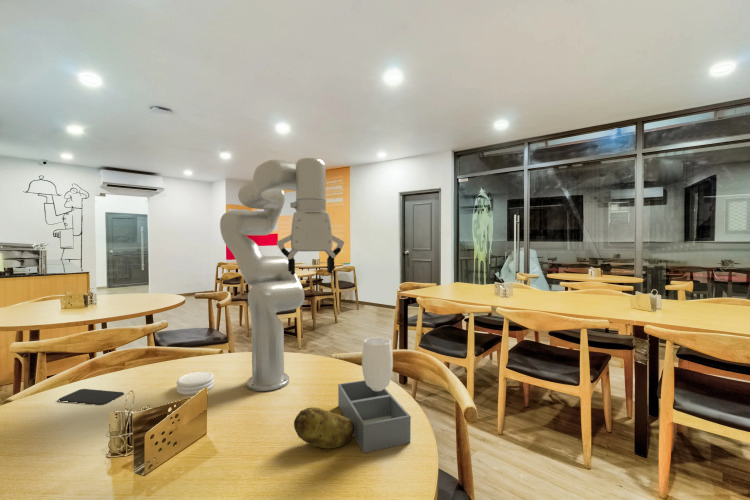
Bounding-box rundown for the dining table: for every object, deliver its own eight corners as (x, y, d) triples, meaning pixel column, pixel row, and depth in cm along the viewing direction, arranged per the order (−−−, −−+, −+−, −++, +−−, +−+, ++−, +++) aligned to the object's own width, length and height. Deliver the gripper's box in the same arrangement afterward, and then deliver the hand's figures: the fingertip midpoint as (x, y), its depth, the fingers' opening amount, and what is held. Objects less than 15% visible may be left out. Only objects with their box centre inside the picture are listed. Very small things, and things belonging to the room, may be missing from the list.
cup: (374, 417, 87) (374, 334, 86) (399, 427, 82) (399, 339, 82) (355, 430, 81) (355, 341, 80) (381, 441, 77) (381, 347, 76)
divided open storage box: (338, 405, 95) (338, 384, 95) (376, 399, 99) (376, 378, 99) (363, 452, 75) (363, 425, 74) (410, 442, 78) (410, 416, 78)
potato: (351, 457, 73) (351, 419, 73) (290, 454, 74) (290, 417, 74) (355, 434, 81) (355, 400, 81) (301, 432, 82) (300, 399, 82)
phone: (102, 404, 95) (55, 399, 98) (103, 407, 96) (55, 402, 98) (126, 392, 103) (81, 388, 105) (126, 395, 103) (81, 391, 105)
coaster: (215, 380, 113) (215, 369, 113) (211, 393, 104) (211, 381, 103) (180, 384, 110) (180, 373, 110) (173, 398, 100) (173, 386, 100)
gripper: (277, 205, 84) (278, 276, 85) (347, 207, 90) (347, 273, 91) (275, 207, 91) (276, 273, 92) (340, 209, 97) (340, 271, 98)
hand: (311, 273), depth 91 cm, fingers open, 9 cm apart
